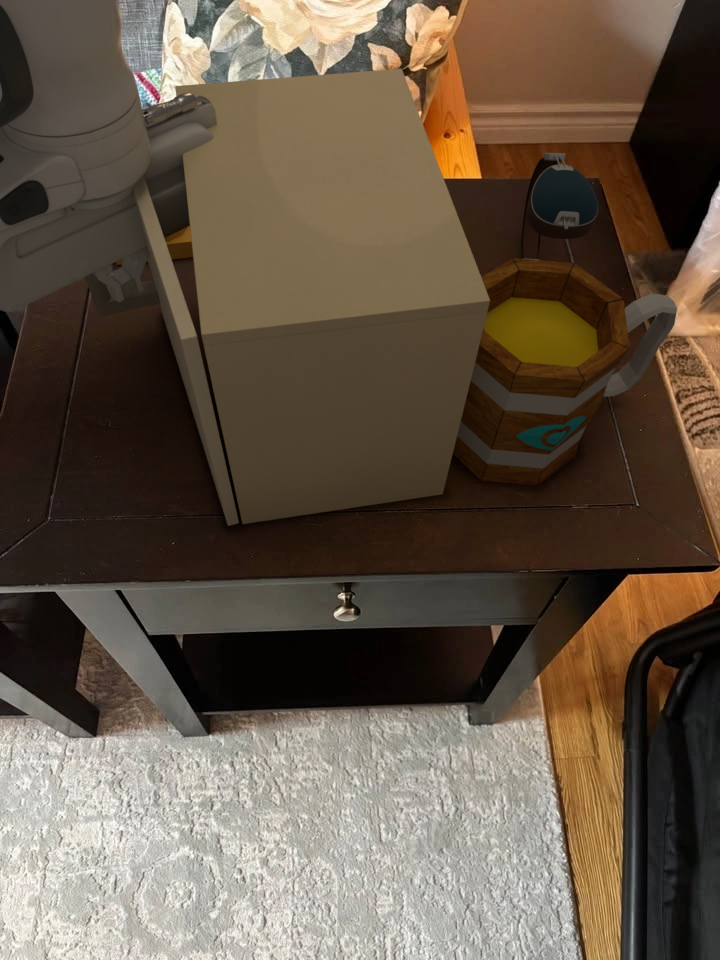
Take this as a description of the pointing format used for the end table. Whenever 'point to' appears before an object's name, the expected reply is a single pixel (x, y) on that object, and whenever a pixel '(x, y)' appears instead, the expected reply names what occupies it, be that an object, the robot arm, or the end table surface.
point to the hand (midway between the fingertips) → (127, 292)
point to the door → (174, 338)
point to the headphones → (556, 204)
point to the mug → (549, 366)
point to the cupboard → (330, 292)
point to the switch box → (177, 245)
